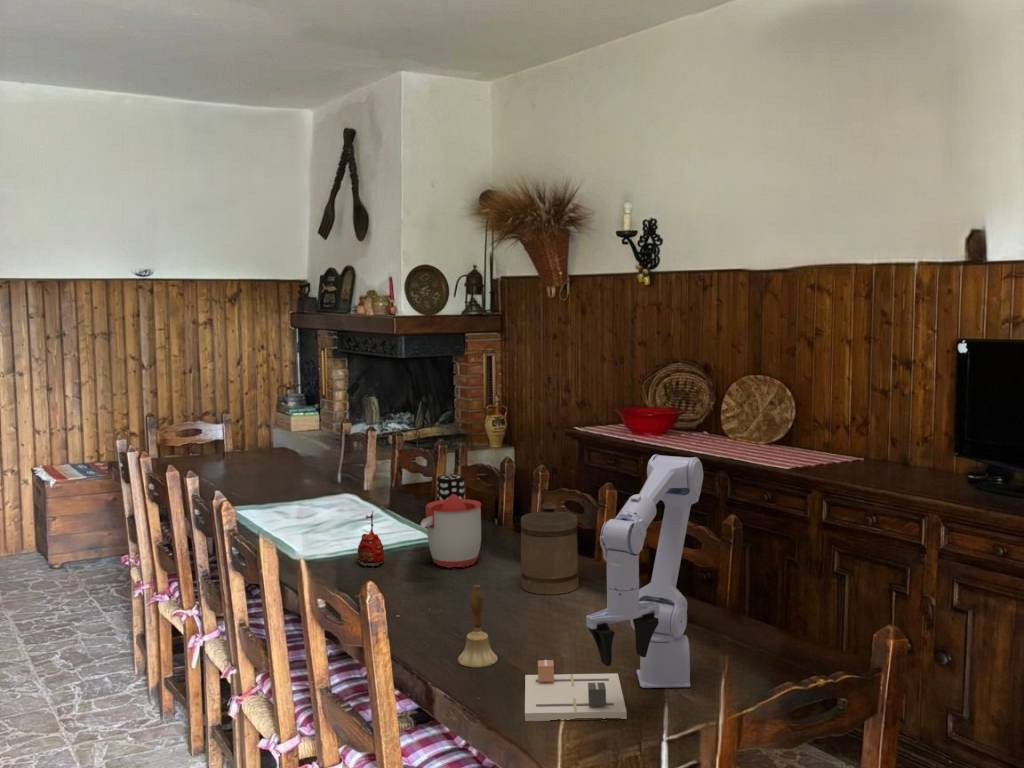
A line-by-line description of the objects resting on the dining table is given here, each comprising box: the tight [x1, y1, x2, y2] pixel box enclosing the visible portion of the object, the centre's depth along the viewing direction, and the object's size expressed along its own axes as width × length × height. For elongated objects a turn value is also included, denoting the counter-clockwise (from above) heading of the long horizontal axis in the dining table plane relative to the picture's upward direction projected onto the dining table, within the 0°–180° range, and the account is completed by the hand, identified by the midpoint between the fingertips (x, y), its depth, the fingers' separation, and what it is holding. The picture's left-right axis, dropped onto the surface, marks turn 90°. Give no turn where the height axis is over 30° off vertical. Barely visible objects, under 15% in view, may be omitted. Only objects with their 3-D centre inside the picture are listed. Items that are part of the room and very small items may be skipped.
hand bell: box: [457, 584, 499, 668], centre depth 199 cm, size 8×8×16 cm
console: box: [524, 672, 628, 722], centre depth 179 cm, size 18×17×2 cm
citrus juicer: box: [420, 494, 482, 568], centre depth 270 cm, size 16×17×20 cm
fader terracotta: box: [537, 659, 555, 682], centre depth 184 cm, size 3×3×3 cm
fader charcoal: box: [588, 682, 606, 706], centre depth 173 cm, size 3×3×3 cm
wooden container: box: [520, 501, 580, 596], centre depth 247 cm, size 15×15×22 cm
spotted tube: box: [436, 474, 466, 501], centre depth 294 cm, size 8×8×20 cm
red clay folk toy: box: [357, 510, 385, 563], centre depth 271 cm, size 8×7×15 cm
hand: (624, 659), depth 173 cm, fingers open, 7 cm apart
